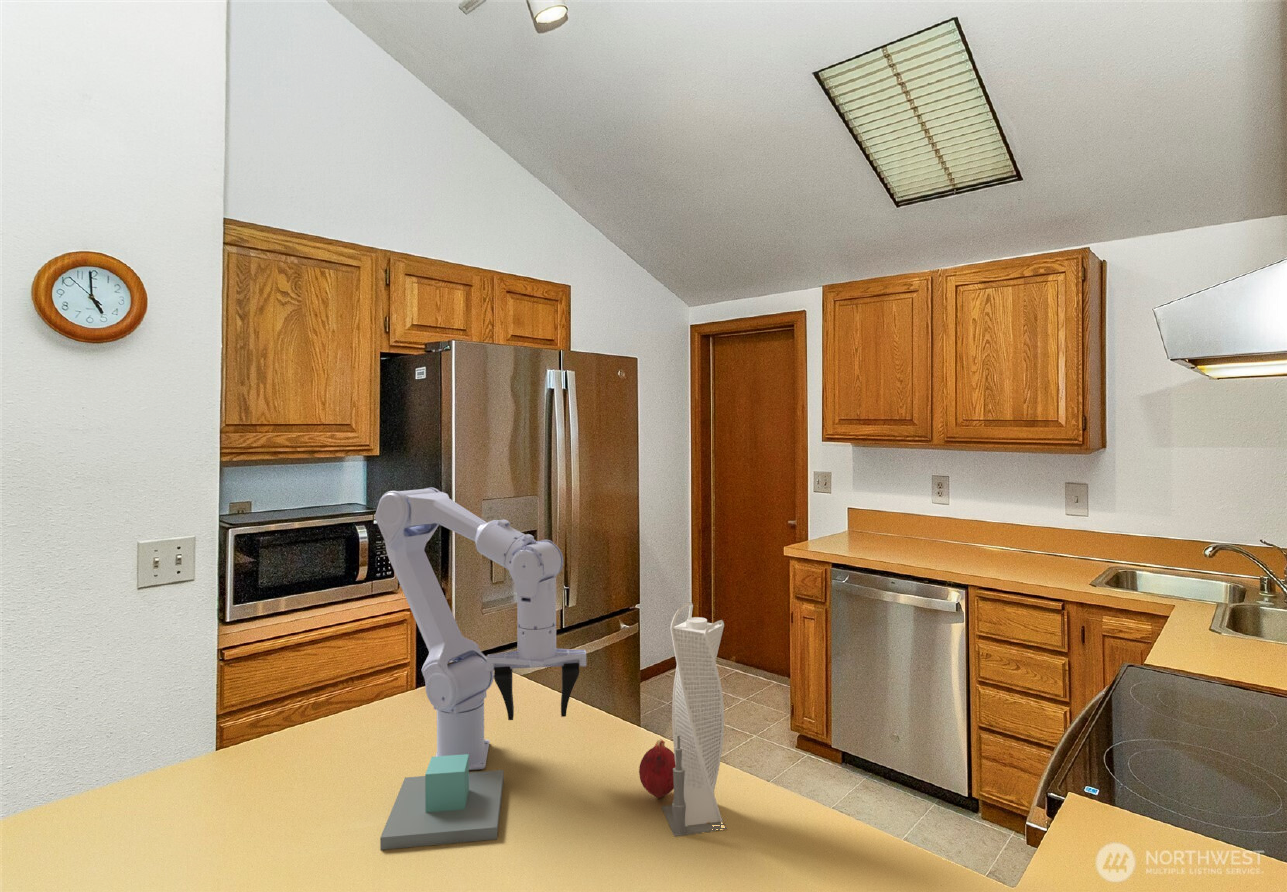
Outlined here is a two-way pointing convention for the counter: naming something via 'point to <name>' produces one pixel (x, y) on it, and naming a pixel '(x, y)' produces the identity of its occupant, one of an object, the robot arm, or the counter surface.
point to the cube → (447, 783)
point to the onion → (658, 770)
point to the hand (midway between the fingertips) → (537, 715)
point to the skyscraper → (696, 726)
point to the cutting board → (444, 814)
